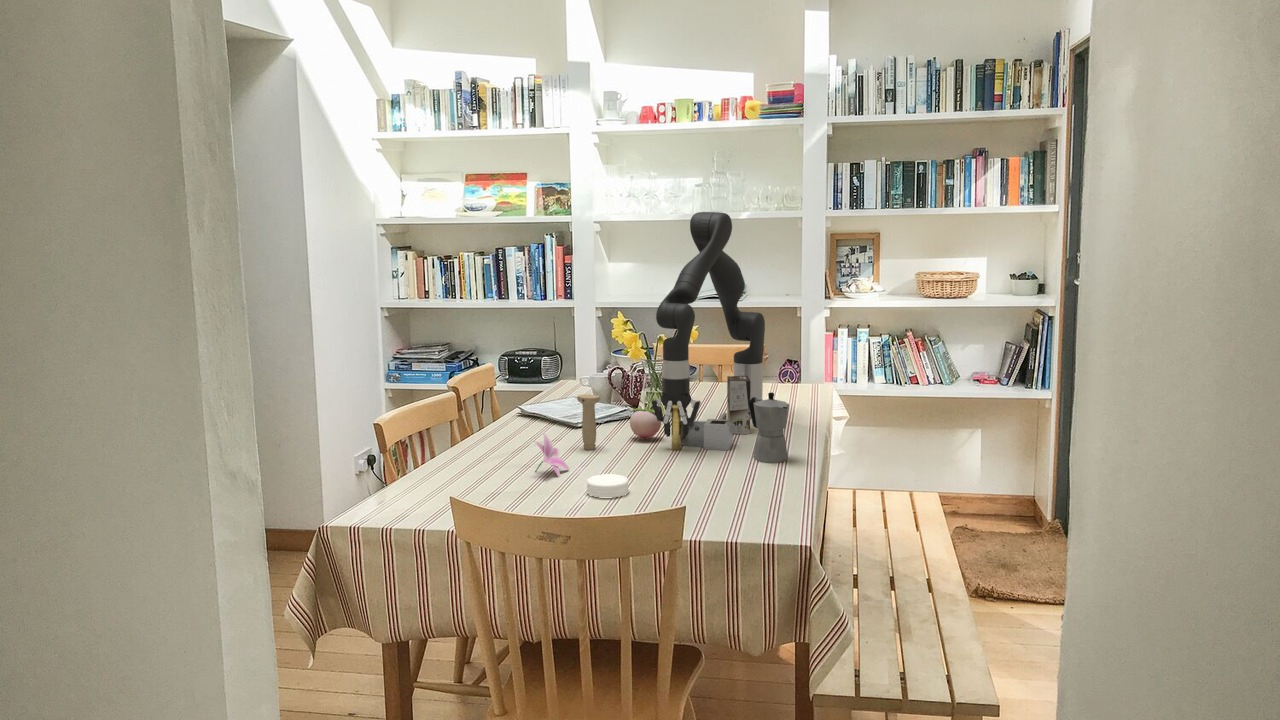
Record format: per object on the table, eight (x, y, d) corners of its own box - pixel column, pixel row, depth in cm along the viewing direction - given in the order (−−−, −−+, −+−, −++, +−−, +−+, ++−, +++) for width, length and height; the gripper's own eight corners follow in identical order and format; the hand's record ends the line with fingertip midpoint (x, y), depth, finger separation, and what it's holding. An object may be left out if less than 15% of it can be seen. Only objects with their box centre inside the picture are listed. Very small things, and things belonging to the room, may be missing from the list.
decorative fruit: (626, 442, 278) (625, 408, 277) (633, 435, 286) (632, 402, 284) (658, 444, 276) (657, 409, 274) (664, 437, 284) (663, 403, 282)
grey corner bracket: (683, 434, 287) (682, 411, 286) (736, 436, 283) (736, 413, 282) (672, 447, 272) (672, 423, 270) (728, 450, 268) (729, 425, 267)
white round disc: (605, 485, 237) (605, 471, 237) (637, 492, 231) (637, 477, 231) (578, 494, 230) (577, 480, 229) (609, 502, 223) (609, 487, 223)
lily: (537, 486, 240) (555, 454, 238) (510, 460, 246) (527, 428, 245) (568, 490, 249) (586, 458, 248) (541, 465, 256) (558, 434, 254)
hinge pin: (671, 447, 272) (671, 401, 270) (684, 447, 271) (683, 402, 269) (668, 450, 268) (668, 404, 266) (681, 451, 268) (681, 405, 266)
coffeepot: (800, 461, 256) (801, 394, 253) (773, 466, 251) (774, 398, 248) (762, 449, 268) (762, 385, 266) (735, 454, 263) (736, 389, 260)
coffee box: (750, 434, 286) (751, 380, 283) (728, 434, 286) (729, 380, 283) (748, 427, 295) (748, 375, 292) (726, 427, 295) (726, 375, 292)
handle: (593, 452, 268) (592, 398, 265) (575, 449, 271) (573, 396, 269) (603, 448, 272) (602, 395, 269) (585, 445, 275) (584, 393, 273)
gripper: (703, 374, 268) (703, 434, 271) (653, 372, 272) (654, 432, 274) (699, 378, 261) (699, 440, 264) (647, 377, 264) (648, 438, 267)
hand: (676, 436), depth 269 cm, fingers open, 4 cm apart
